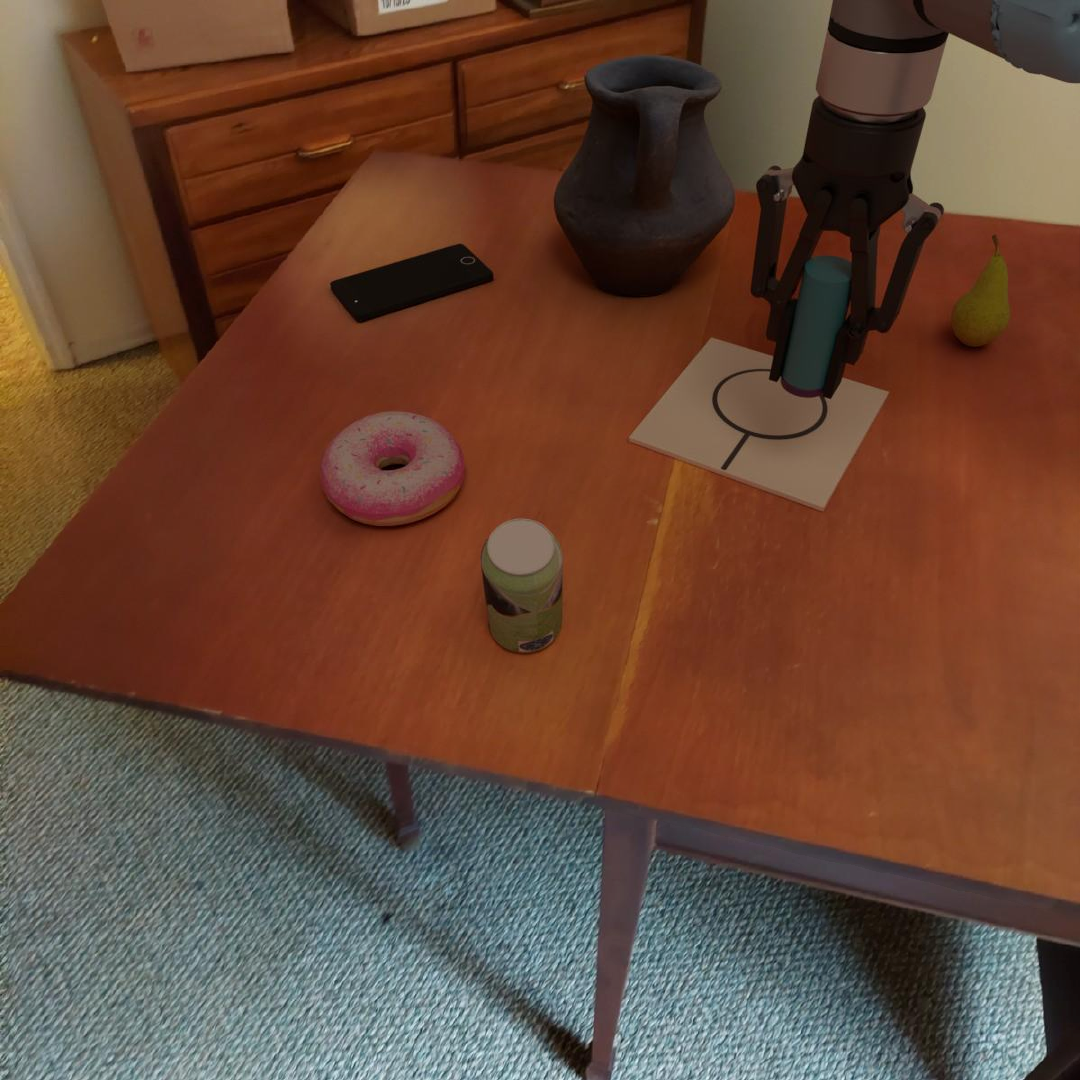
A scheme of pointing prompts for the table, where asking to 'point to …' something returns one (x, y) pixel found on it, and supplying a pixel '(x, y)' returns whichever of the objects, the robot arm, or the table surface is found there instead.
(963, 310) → the fruit
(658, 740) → the table surface
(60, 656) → the table surface
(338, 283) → the cell phone
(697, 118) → the pitcher
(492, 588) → the beverage can
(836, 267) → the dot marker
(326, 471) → the donut
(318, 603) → the table surface
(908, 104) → the robot arm
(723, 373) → the drawing sheet
